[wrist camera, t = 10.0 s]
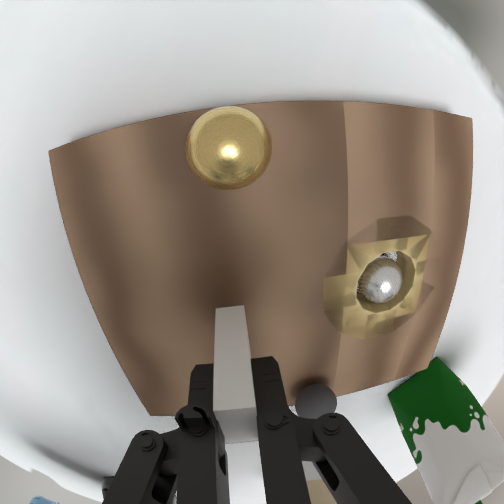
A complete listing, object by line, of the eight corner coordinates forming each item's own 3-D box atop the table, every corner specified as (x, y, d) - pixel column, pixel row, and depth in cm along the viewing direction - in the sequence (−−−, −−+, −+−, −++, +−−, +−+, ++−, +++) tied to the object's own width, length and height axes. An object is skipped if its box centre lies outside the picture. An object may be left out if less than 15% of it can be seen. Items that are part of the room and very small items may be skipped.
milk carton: (377, 396, 26) (440, 542, 8) (442, 346, 24) (530, 480, 6) (399, 415, 29) (451, 529, 11) (453, 374, 27) (519, 481, 9)
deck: (154, 395, 23) (150, 415, 21) (69, 147, 14) (48, 150, 12) (416, 352, 24) (427, 368, 21) (449, 116, 15) (472, 118, 12)
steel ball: (375, 317, 18) (401, 286, 19) (390, 305, 15) (417, 270, 16) (344, 286, 19) (371, 257, 20) (353, 270, 16) (383, 238, 17)
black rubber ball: (291, 403, 21) (298, 433, 18) (291, 380, 19) (299, 413, 17) (328, 395, 21) (338, 425, 18) (332, 372, 20) (344, 403, 17)
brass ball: (196, 187, 13) (186, 205, 10) (187, 116, 12) (172, 109, 9) (269, 178, 14) (283, 193, 10) (262, 106, 12) (274, 96, 9)
